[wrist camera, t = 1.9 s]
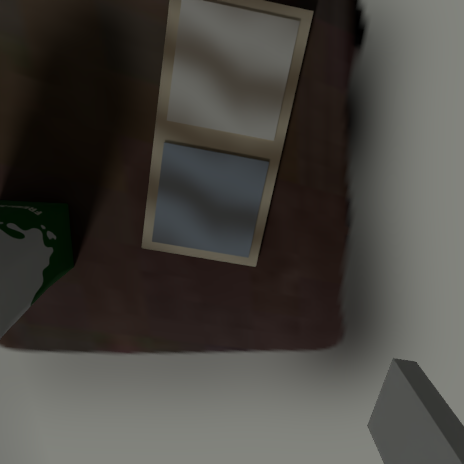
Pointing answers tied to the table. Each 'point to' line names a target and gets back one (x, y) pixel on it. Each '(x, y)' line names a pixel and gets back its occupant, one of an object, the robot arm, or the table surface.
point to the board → (221, 125)
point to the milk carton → (31, 254)
